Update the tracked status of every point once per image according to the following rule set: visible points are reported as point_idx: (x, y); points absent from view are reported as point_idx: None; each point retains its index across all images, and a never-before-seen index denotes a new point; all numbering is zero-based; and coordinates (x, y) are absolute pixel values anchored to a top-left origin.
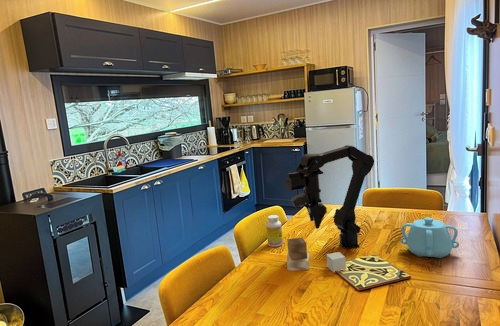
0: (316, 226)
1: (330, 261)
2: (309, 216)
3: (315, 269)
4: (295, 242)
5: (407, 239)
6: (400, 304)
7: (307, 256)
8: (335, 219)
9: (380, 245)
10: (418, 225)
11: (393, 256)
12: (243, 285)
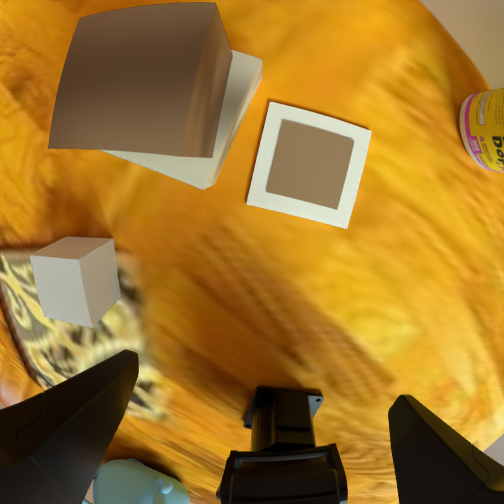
0: (105, 366)
1: (57, 250)
2: (436, 423)
3: (108, 176)
4: (96, 58)
5: (144, 489)
6: None
7: (134, 156)
8: (318, 491)
9: (226, 456)
10: None
11: (140, 436)
12: None
